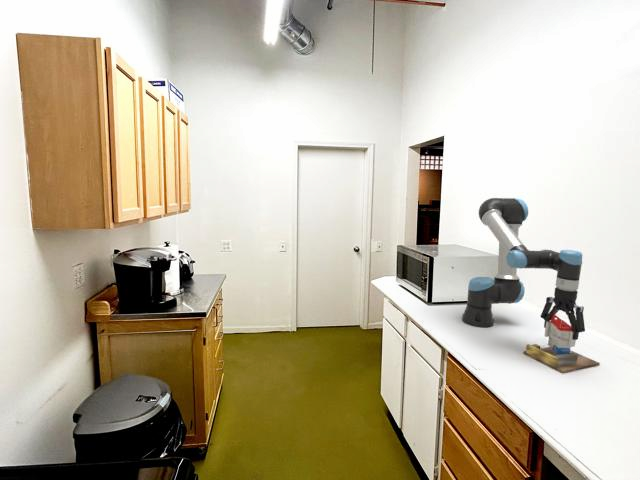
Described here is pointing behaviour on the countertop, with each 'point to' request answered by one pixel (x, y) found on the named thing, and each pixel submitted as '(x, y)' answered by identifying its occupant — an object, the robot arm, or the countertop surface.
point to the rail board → (569, 367)
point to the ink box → (559, 335)
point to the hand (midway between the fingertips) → (559, 341)
